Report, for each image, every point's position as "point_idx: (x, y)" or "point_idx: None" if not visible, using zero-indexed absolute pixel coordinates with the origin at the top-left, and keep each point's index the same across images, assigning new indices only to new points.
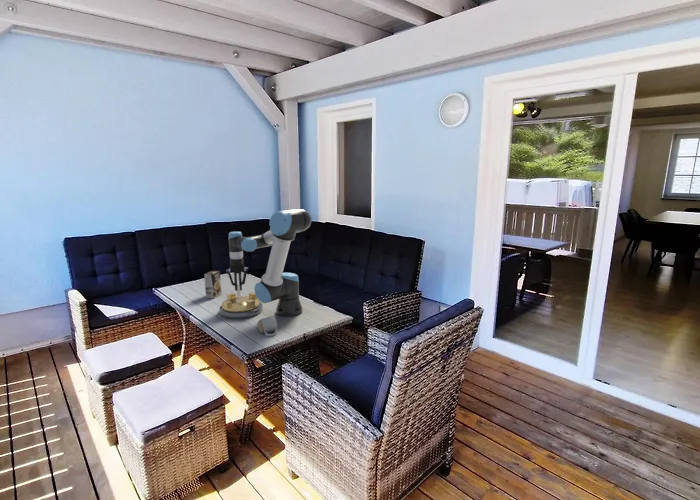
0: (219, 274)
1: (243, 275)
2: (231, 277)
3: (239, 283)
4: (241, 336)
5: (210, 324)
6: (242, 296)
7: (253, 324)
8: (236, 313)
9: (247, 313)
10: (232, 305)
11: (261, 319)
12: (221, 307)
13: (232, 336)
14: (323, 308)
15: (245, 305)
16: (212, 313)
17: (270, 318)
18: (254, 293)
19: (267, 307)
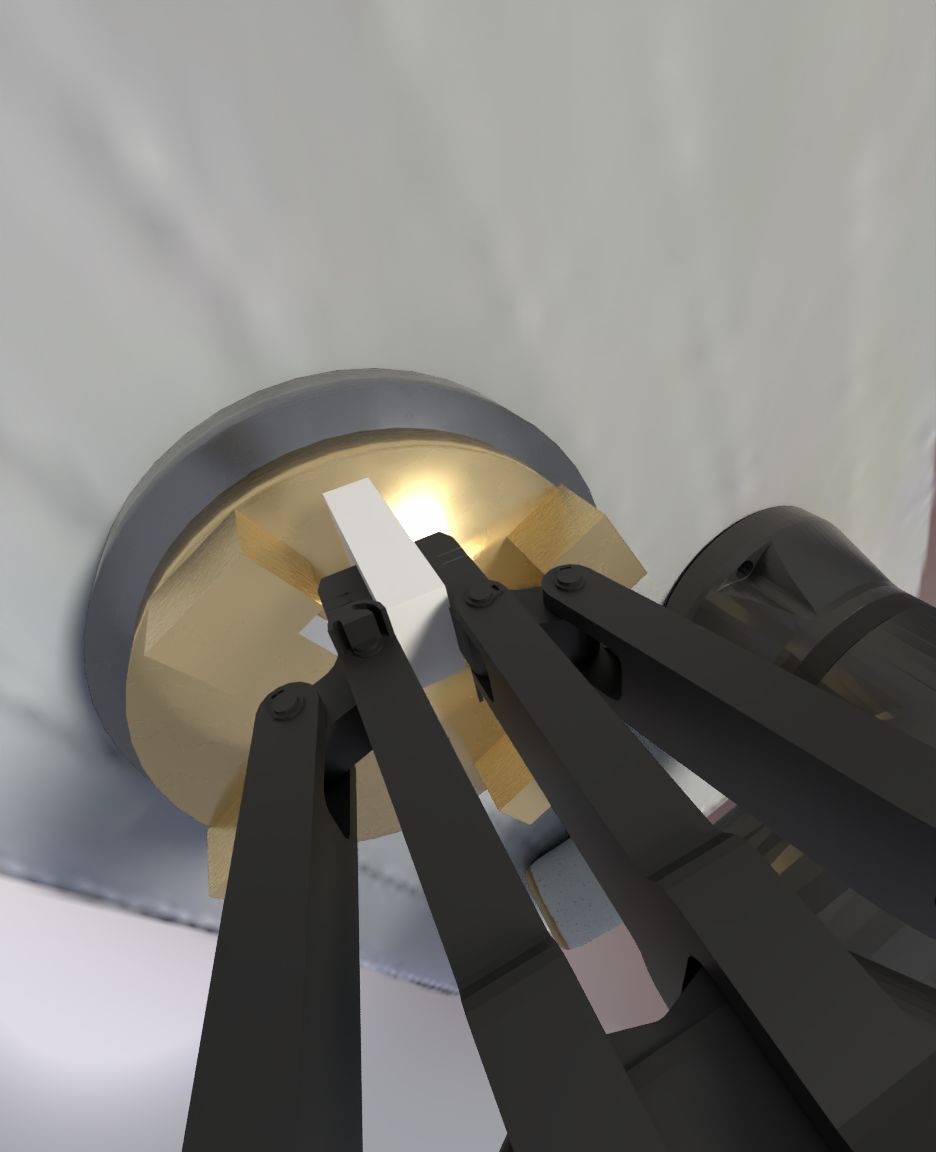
0: None
1: (738, 724)
2: (349, 1027)
3: (484, 690)
4: (430, 924)
5: (143, 889)
6: (402, 454)
7: (491, 806)
8: None
9: None
10: None
11: (575, 942)
12: (120, 699)
13: (380, 940)
14: (915, 539)
15: (467, 751)
16: None
17: (622, 922)
18: (615, 575)
19: (622, 508)
